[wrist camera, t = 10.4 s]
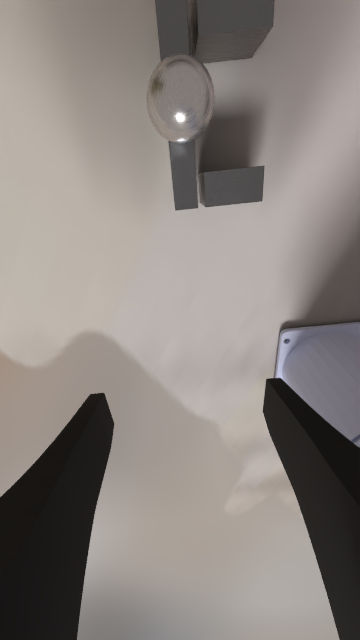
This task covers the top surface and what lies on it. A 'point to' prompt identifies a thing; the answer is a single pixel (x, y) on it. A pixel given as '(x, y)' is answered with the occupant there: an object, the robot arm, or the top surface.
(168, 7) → the stud bracket
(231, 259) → the top surface
